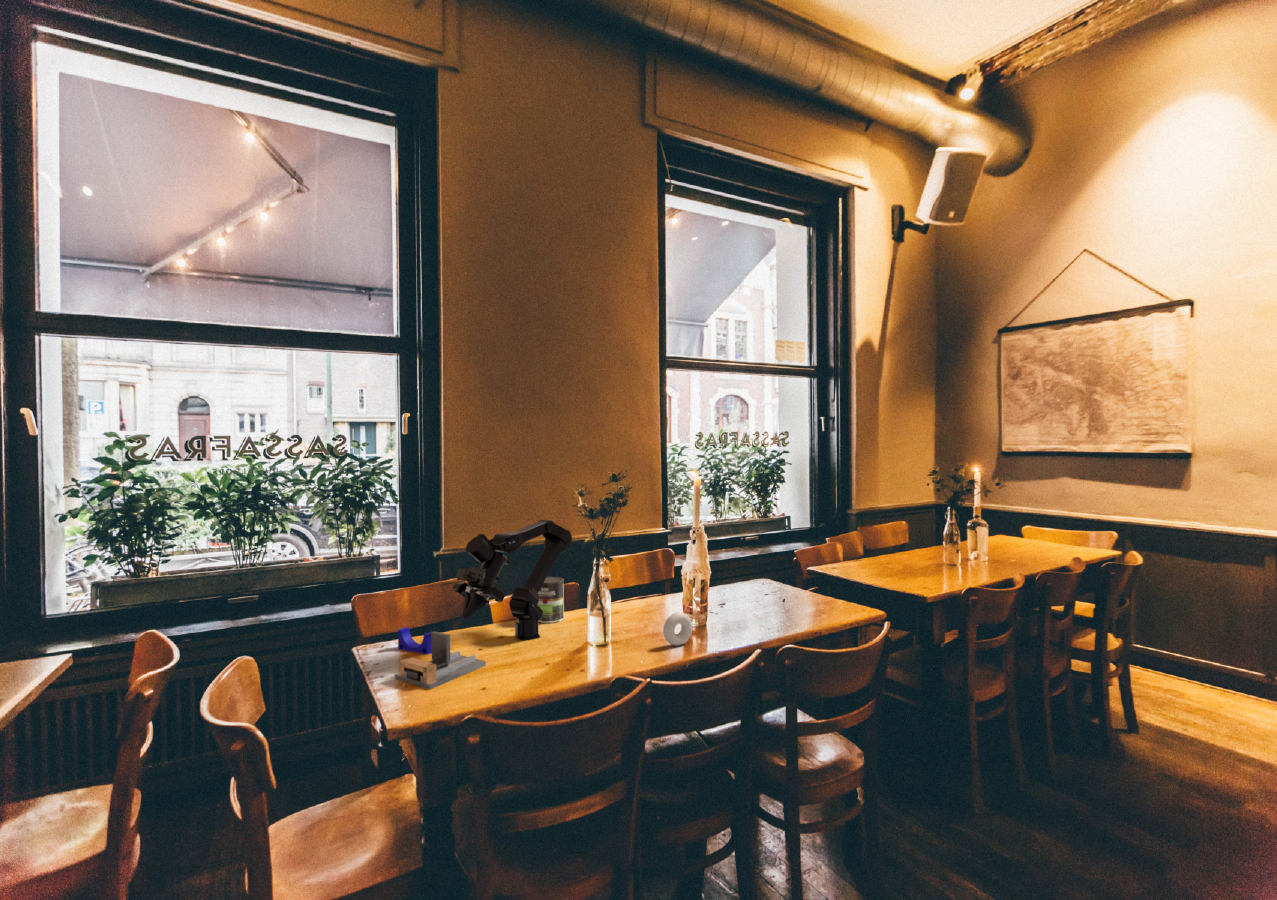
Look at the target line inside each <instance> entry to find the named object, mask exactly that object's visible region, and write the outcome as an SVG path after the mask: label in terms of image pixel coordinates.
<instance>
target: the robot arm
mask: <svg viewBox="0 0 1277 900" xmlns="http://www.w3.org/2000/svg"><path fill="white" fill-rule="evenodd" d="M540 536H542V538H544V550H543V552H542V553H541V555H540V557H539V559H538V561H537V562H536V564H535V566H534V568H533V570H532V572H531V574H530V575H529V577H528V578H527V581H526V583H525V584H524V585H523V586H522V587H520V586H517V587H516V588H515V589H514V590H513V593H512V594H511V595H510V597H509V598H510V600H509V603H508V605H509V610H510V612H511V615H512V617H513V618H516V622H515V623H514V636H516V638H518V639H519V640H520V641H527V640H533V639H538V638H541V635H540V634H539V622H538V620H539V618H542V614H543V610H542V609H541V608H540V607H539V606H538V602H539V594H538V593H539V590H540V588H541V586H542V585H543V583H544V581H545V579H546V577H548V575H549V573H550V571H551V569H552V567H553V566H554V563H555V562H556V560H557V558H558V556H560V555H561V554H562V553H564V552H566V550H567V549H568V547H570V545H571V543H572V540H573V535H572V532H571V531H570V530H569V529H566V528H564V527H562V526H560V525H558V524H557V523H555V522H554V521H552V520H550V519H539V520H538V521H536V522H534V523H532V524H531V523H530V524H529V525H528V524H527V525H526V526H524V527H522V528H519V529H517V530H513V531H503V532H499V533H495V535H494V536H493V537H492V538H490V539H489V538H488V537H487V536H486V534H484V533H478V534H477V535H476V536H474V537H473V538H472V539H470V541H468V542H467V544H466V546H465V551H466V552H467V554H469V555H470V556H471V557H472V558H473V559H475V560H476V561H477V562H479V563H482V564H481V566H480V567H478V566H472V567H471V568H470V569H468V568H458V572H457V575H456V580H457V581H459V582H456V583H454V584H453V586H452V588H451V589H452V591H454V592H456V593H457V594H458V595H460V596H461V597H463V598H464V605H463V609H462V615H461V618H462V619H463V620H467V619H468V618H470V617H471V616H472V615H473V614H475V613H476V612H477V611H478V610H480V609H481V608H483V607H484V606H485V605H487V604H490V601H489V598H491V597H493V598H494V601H495V602H496V603H502V602H503V601H504V599H505V597H506V596H505V591H504V590H502V589H500V588H499V587H498V586H496V585H495V582H499V581H500V580H501V579H500V577H499V575H500V573H501V571H502V569H503V567H504V565H506V566H511V564H512V563H511V560H510V556H509V555H504V554H503V553H507V554H513V553H515V552H516V551H518V550H519V549H521V547H522V546H523V544H525V543H526V542H529V541H531V540H532V539H535V538H537V537H540ZM460 581H462V582H460ZM463 581H466V582H463Z"/></svg>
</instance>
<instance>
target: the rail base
mask: <svg viewBox="0 0 1277 900" xmlns="http://www.w3.org/2000/svg"><path fill="white" fill-rule="evenodd" d="M430 661H433V660H432V659H431V660H429V661H426V660H422V659H419V658H414V657H407V658H404V659H402V660H400V662H399V663H400V672H397V673H394V680H397V681H401V682H405V683H408V684H411V685H414V686H416V687H417V686H418V687H421V688H424V689H428V690H433V689H435V688H437V687H439V686H441V685H444V684H446V683H448V682H450V681H453V680H455V679H457V678H460V677H462V676H465V675H467V674H469V673H471V672H474V671H476V670H478V669H480V668H483V667H485V666H486V664H487V661H486V660H483V659H479V658H477V655H476V654H472V655H470V656H466V655H462V654H461V651H458V650H457V651H454V652H450V662H449V663H448V665H447V666H444V667H442V668H439V669H437V670H436V664H434V663H430ZM409 669H413V670H417V671H421V672H423V675H422V676H420V679H418V680H416V679H413V678H409V677H406V670H409ZM434 687H435V688H434Z"/></svg>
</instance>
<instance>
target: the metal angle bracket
mask: <svg viewBox="0 0 1277 900" xmlns="http://www.w3.org/2000/svg"><path fill="white" fill-rule="evenodd" d="M431 642H432V653H431V660H433V661H431V660H429V661H430V663H434V664H436V670H437V669H439V668H442V667H444V666H447V665H448V663H449V662H450V653H451V634H449V633H444V632H439V631H432V633H431ZM422 675H423V672H421V671H417V670H413V669H409V670H406V677H409V678H413V679H416V680H418V679H420V676H422Z"/></svg>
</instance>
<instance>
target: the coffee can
mask: <svg viewBox="0 0 1277 900" xmlns="http://www.w3.org/2000/svg"><path fill="white" fill-rule="evenodd" d="M564 582H565V579H564V578H563V577H560V576H547V577H546V579H545V581H544V583H543V585H542V586H541V588H540V590H539V593H538V594H539V602H538V606H539V607H540V608H541V609H542V610H543V614H542V618H539V620H538V623H539V622H541V624H555V623H554V622H556V623H558V622H557V621H560V622H562V621H563V618H564V619H565V613H564V612H565V603H564V602H565V601H564V600H565V597H564V593H565V592H564V590H565V588H564V587H565V586H564V585H565V584H564Z"/></svg>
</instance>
